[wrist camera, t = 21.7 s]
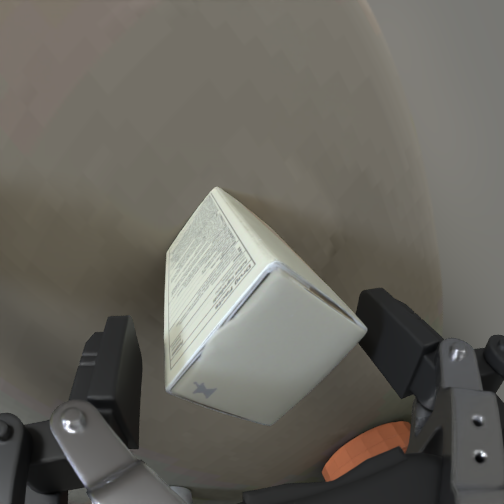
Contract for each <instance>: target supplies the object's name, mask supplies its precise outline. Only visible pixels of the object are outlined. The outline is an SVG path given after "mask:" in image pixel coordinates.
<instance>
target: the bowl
mask: <svg viewBox="0 0 504 504" xmlns="http://www.w3.org/2000/svg"><path fill="white" fill-rule="evenodd" d="M410 428H411V425H410V423H409V422H405V421H399V422H391V423H386V424H383V425H380V426H377V427H375V428H373V429H371V430H368V431H366V432H365V433H363V434H361V435H359V436H357V437H356V438H354V439H352V440H351V441H349V442H348V443H346V444H345V445H344V446H342V447H341V448H340V449H339V450H338V451H336V452H335V453H334V454H333V455H332V457H331V458H330V459H329V461H328V462H327V463H326V464H325V466H324V468H323V470H322V474H323V477H324V479H325V481H326V482H328V481H333V480H335V479H337V478H339V477H340V476H342V475H344V474H345V473H347V472H348V471H350V470H351V469H353V468H354V467H356V466H357V465H359V464H360V463H362V462H363V461H365V460H366V459H368V458H371V457H373V456H376V455H378V454H381V453H383V452H385V451H388V450H390V449H392V448H395V447H397V446H399V445H400V447H401V449H402V450H403V452H404V453H405V452H406V450H407V448H408V444H409V437H410Z"/></svg>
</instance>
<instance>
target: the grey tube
mask: <svg viewBox="0 0 504 504" xmlns="http://www.w3.org/2000/svg"><path fill="white" fill-rule="evenodd" d="M169 487H170V488H171V489H172V490H174V491H175V492H176V493H177V494H178V495H179V496H180V497H181V498H182V499H183V500H185V501H186V502H187V503H188V504H193V500H192V494H191V491H190V490H189V489H187V488H184V487H178V486H169Z"/></svg>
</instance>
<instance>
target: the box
mask: <svg viewBox="0 0 504 504" xmlns="http://www.w3.org/2000/svg"><path fill="white" fill-rule="evenodd" d="M366 332H367V327H366V326H365V325H364V324H363V322H362V321H361V320H360V319H359V318H358V317H357V316H356V315H355V314H354V313H353V312H352V310H351V309H350V308H349V307H348V306H347V305H346V304H345V303H344V302H343V301H342V300H341V299H340V298H339V297H338V296H337V295H336V294H335V293H334V292H333V291H332V289H331V288H330V287H329V286H328V285H327V284H326V283H325V282H324V281H323V280H322V279H321V278H320V277H319V276H318V275H317V274H316V273H315V272H314V271H313V270H312V269H311V268H310V267H309V266H308V265H307V264H306V263H305V262H304V261H303V260H302V259H301V258H300V257H299V256H298V255H297V254H296V253H295V252H294V251H293V250H292V249H291V248H290V247H289V246H288V245H287V244H286V243H285V242H284V240H283V239H282V238H281V237H280V236H279V235H278V234H277V233H276V232H275V231H274V230H273V229H272V228H271V227H270V226H268V225H267V224H266V223H265V222H264V221H262V220H261V219H260V218H259V217H258V216H256V215H255V214H254V213H253V212H251V211H250V210H249V209H248V208H246V207H245V206H244V205H243V204H241V203H240V202H239V201H237V200H236V199H235V198H233V197H232V196H231V195H229V194H228V193H226V192H225V191H223V190H222V189H221V188H219V187H215V188H214V189H213V190H212V191H211V192H210V193H209V194H208V196H207V197H206V198H205V199H204V201H203V202H202V203H201V204H200V206H199V207H198V208H197V210H196V211H195V212H194V214H193V215H192V216H191V218H190V219H189V221H188V222H187V223H186V225H185V226H184V228H183V229H182V230H181V232H180V233H179V235H178V236H177V237H176V239H175V240H174V242H173V243H172V245H171V247H170V248H169V250H168V251H167V254H166V273H165V303H164V364H165V390H166V392H167V393H169V394H171V395H174V396H177V397H179V398H181V399H185V400H187V401H190V402H192V403H195V404H198V405H200V406H203V407H206V408H209V409H212V410H215V411H218V412H221V413H224V414H227V415H230V416H234V417H237V418H241V419H244V420H248V421H252V422H256V423H259V424H263V425H268V426H270V425H273V424H274V423H275V422H276V421H278V420H279V419H280V418H281V417H282V416H284V415H285V414H286V413H287V412H288V411H289V410H290V409H292V408H293V407H294V406H295V405H296V404H297V403H298V402H299V401H301V400H302V399H303V398H304V397H305V396H306V395H307V394H308V393H309V392H310V391H311V390H312V389H314V388H315V387H316V386H317V385H318V384H319V383H320V382H321V381H322V380H323V379H324V378H325V377H326V376H327V375H328V374H329V373H330V372H331V371H332V370H333V369H334V368H335V367H336V366H337V365H338V363H339V362H340V361H341V360H342V359H343V358H344V357H345V356H346V355H347V354H348V353H349V352H350V351H351V350H352V349H353V347H354V346H355V345H356V344H357V343H358V342H359V341H360V340H361V339H362V338H363V336H364V335H365V334H366Z"/></svg>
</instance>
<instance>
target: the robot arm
mask: <svg viewBox="0 0 504 504" xmlns="http://www.w3.org/2000/svg"><path fill="white" fill-rule="evenodd" d="M356 316H357V317H358V318H359V319H360V320H361V321H362V322H363V324H364V325H365V326H366V327H367V332H366V334H365V335H364V336H363V338H362V339H361V340H360V341H359V342H358V343H359V345H360V346H361V347H362V348H363V350H364V351H365V352H366V354H367V355H368V356H369V357H370V359H371V360H372V361H373V363H374V364H375V365H376V366H377V368H378V369H379V370H380V372H381V373H382V374H383V376H384V377H385V378H386V380H387V381H388V382H389V383H390V385H391V386H392V387H393V389H394V390H395V391H396V393H397V394H398V395H399V397H400V398H401V399H403V398H405V397H407V396H410V395H412V394H414V395H415V399H414V401H413V406H412V418H411V428H410V437H409V444H408V448H407V450H406V452H405V453H404V452H403V450H402V449H401V447H400V445H399V446H397V447H395V448H392V449H390V450H388V451H385V452H383V453H381V454H378V455H376V456H373V457H371V458H368V459H366V460H365V461H363V462H362V463H360V464H359V465H357V466H356V467H354V468H353V469H351V470H350V471H348V472H347V473H345V474H344V475H342V476H340V477H339V478H337V479H335V480H333V481H328V482H314V483H293V484H283V485H278V486H273V487H269V488H263V489H258V490H252V491H247V492H242V493H243V502H240V503H238V504H504V403H503V402H502V401H501V399H500V398H499V397H498V396H497V395H496V392H497V390H498V389H499V387H500V385H501V384H502V382H503V381H504V336H502V335H493V336H491V337H490V338H489V341H488V343H487V345H486V347H485V348H480V349H473V348H472V347H471V346H470V345H469V344H468V343H467V342H465V341H463V340H460V339H456V338H448V339H445V340H444V339H443V338H442V337H441V336H440V335H439V334H438V333H437V332H436V331H435V330H434V329H432V328H431V327H430V326H429V325H428V324H427V323H426V322H425V321H424V320H423V319H422V320H421V318H420V317H419V316H418V315H417V314H416V313H415V314H414V311H413V310H412V309H410V308H409V307H408V306H407V305H406V304H404V303H402V302H400V301H398V300H396V299H394V298H393V297H392V296H391V295H390V294H389V293H388V292H387V291H385V290H384V289H383V288H375V289H369V290H363V291H362V292H361V294H360V297H359V302H358V307H357V311H356ZM82 355H83V356H81V359H80V363H79V364H80V366H78V369H77V372H76V376H75V379H74V383H73V386H72V390H71V394H70V397H69V401H67V402H64V403H62V404H61V405H59V406H58V407H57V408H56V409H55V410H54V411H53V413H52V415H51V417H50V420H47V421H42V422H37V423H32V424H27V425H23V423H22V422H21V420H20V419H19V418H18V417H17V416H15V415H14V414H11V413H1V414H0V504H68V490H73V489H78V488H83V487H85V488H86V489H87V492H86V493H87V495H88V497H89V498H90V500H91V501H92V503H93V504H188V503H187V502H186V501H185V500H183V499H182V498H181V497H180V496H179V495H178V494H177V493H176V492H175V491H174V490H172V489H171V488H170V487H169V486H168V485H167V484H166V483H165V482H164V481H163V480H162V479H161V478H160V477H159V476H158V475H157V474H156V473H155V472H154V471H153V470H152V469H151V468H150V467H149V466H148V465H147V464H146V463H145V462H144V461H142V460H138V459H137V458H136V457H135V456H134V454H133V453H132V452H131V451H130V450H129V449H139V417H140V397H141V382H142V357H141V352H140V348H139V344H138V340H137V336H136V332H135V328H134V324H133V320H132V317H131V316H130V315H128V316H110V317H108V319H107V322H106V325H105V329H104V332H95V333H94V334H93V335H92V336H91V337H90V339H89V340H88V341H87V342H86V344H85V347H84V350H83V353H82Z"/></svg>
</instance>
